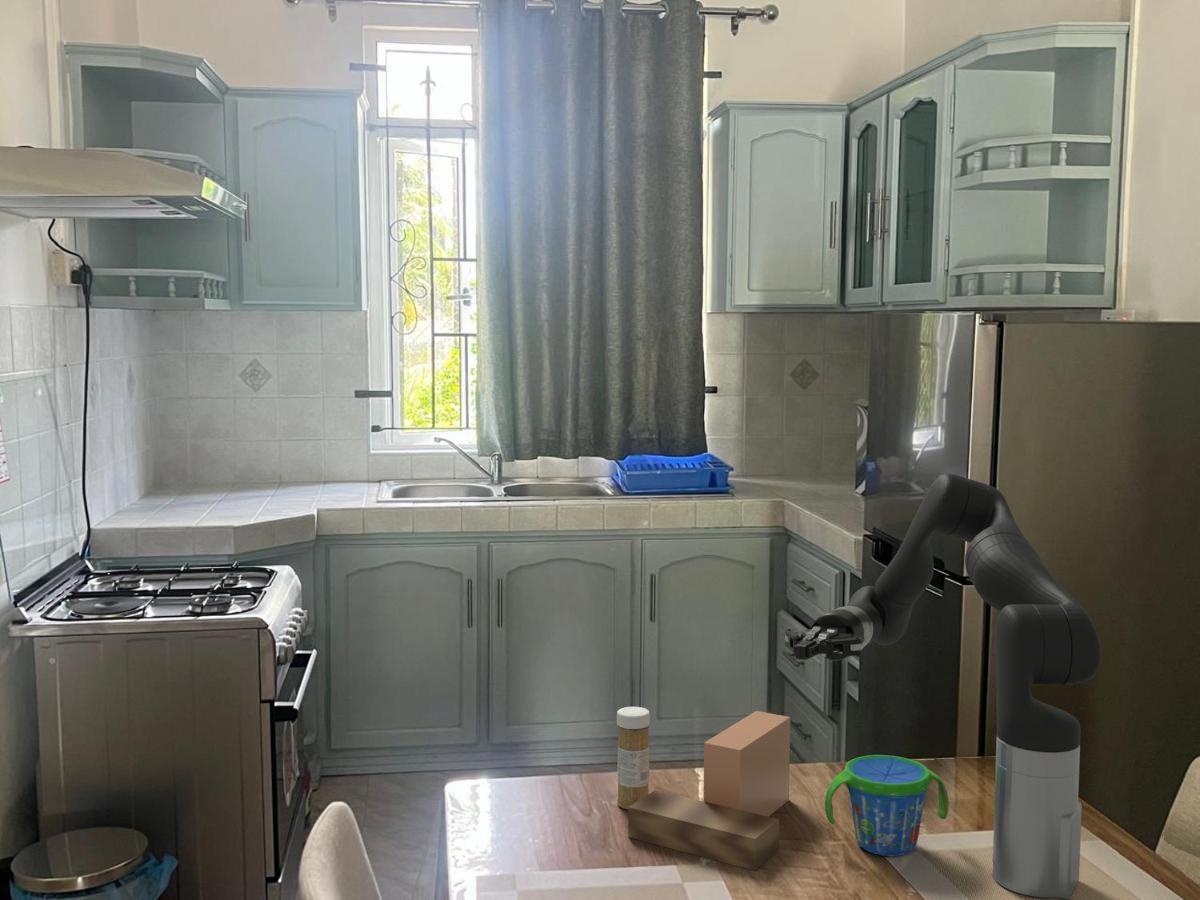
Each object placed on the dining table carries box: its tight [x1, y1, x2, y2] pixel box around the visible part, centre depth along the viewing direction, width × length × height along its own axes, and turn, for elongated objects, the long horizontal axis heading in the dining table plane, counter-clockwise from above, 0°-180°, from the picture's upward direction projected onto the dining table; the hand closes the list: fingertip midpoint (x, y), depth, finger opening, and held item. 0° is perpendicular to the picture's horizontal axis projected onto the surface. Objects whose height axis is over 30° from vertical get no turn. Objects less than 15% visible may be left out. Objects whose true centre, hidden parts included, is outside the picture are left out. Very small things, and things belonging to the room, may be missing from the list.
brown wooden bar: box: [627, 789, 780, 872], centre depth 146 cm, size 18×7×4 cm, turn 57°
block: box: [703, 710, 791, 817], centre depth 155 cm, size 5×16×12 cm, turn 147°
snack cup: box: [824, 754, 950, 857], centre depth 146 cm, size 16×10×10 cm
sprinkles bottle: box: [616, 706, 651, 810], centre depth 159 cm, size 5×5×13 cm
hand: (800, 652), depth 169 cm, fingers closed
